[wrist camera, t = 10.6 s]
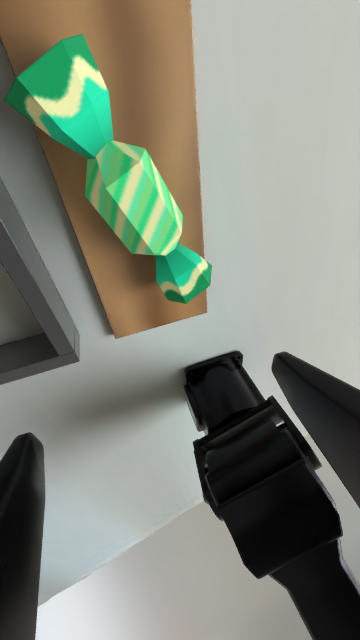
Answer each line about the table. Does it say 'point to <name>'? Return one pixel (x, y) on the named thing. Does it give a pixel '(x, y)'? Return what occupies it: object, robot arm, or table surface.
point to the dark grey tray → (33, 303)
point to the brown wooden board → (124, 133)
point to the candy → (109, 163)
